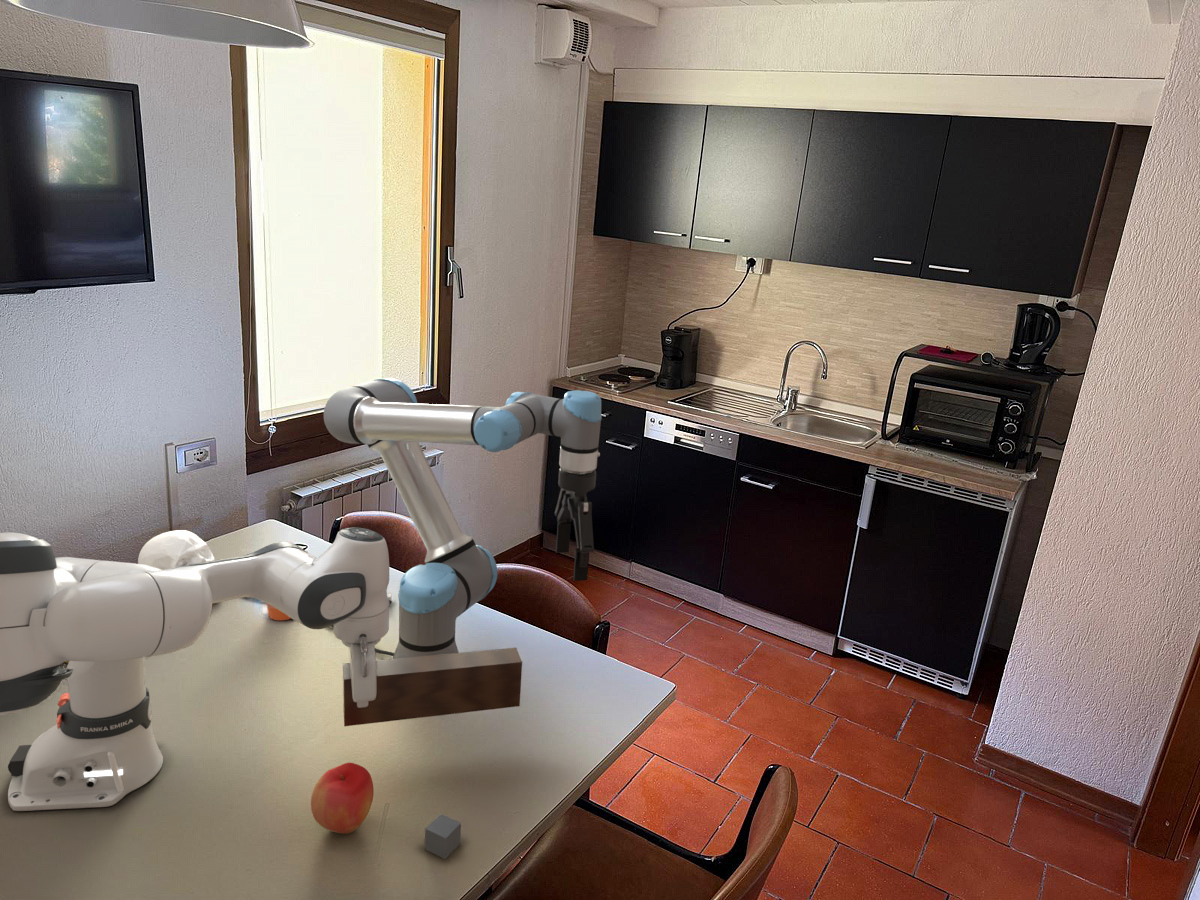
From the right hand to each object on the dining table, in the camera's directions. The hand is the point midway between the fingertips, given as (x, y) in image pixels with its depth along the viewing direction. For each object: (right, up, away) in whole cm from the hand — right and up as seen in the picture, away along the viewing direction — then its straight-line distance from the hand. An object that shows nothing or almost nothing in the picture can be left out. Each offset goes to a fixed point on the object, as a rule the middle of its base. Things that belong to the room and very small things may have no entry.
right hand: (570, 565), depth 177 cm
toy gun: (-52, -12, +37) cm, 65 cm away
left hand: (-34, -17, -32) cm, 50 cm away
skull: (-95, -11, +30) cm, 100 cm away
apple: (-36, -37, -39) cm, 64 cm away
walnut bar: (-23, -21, -27) cm, 42 cm away
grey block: (-19, -39, -41) cm, 60 cm away
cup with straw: (-69, -15, +24) cm, 74 cm away
